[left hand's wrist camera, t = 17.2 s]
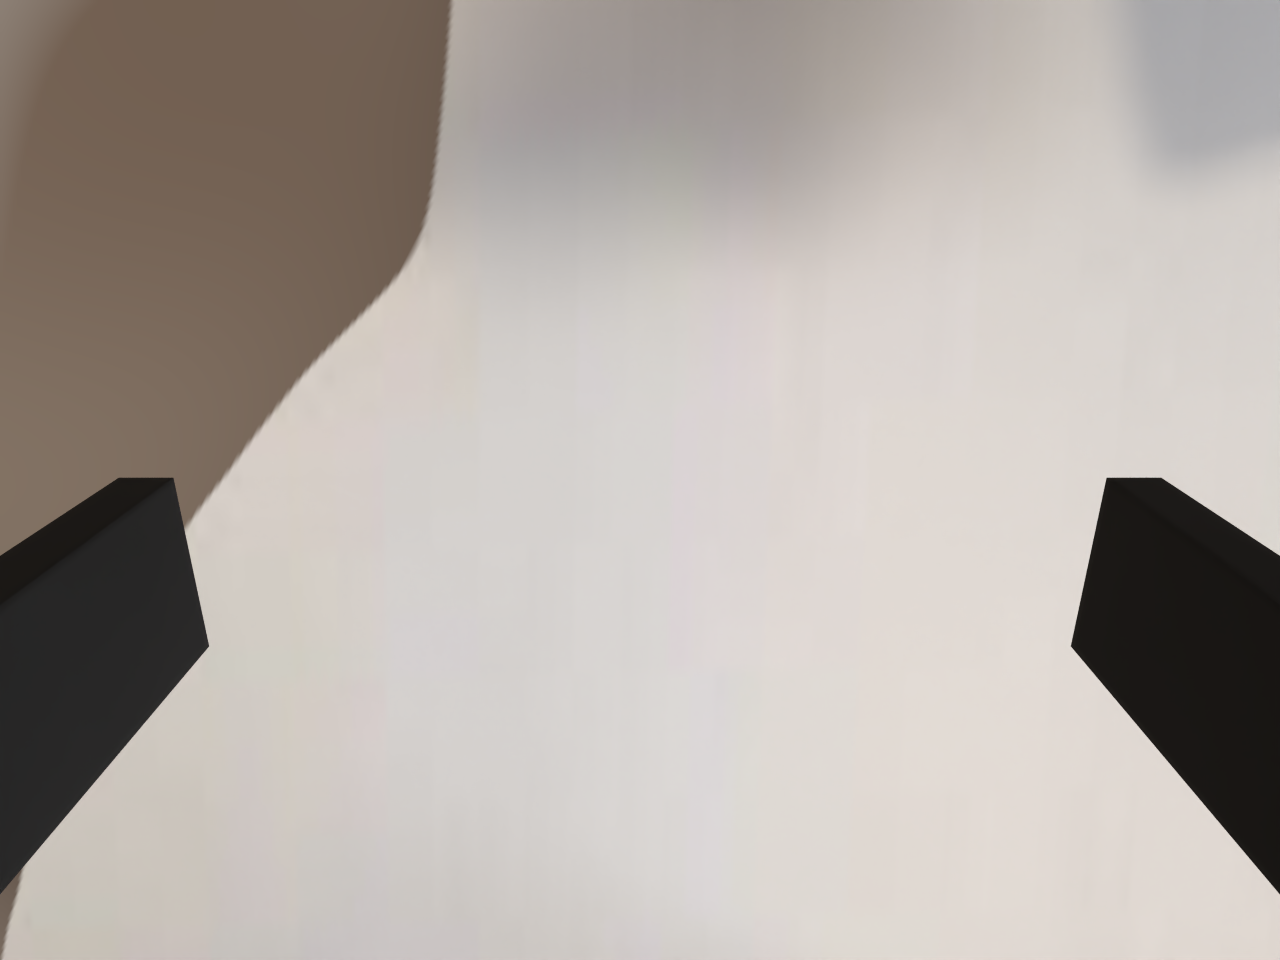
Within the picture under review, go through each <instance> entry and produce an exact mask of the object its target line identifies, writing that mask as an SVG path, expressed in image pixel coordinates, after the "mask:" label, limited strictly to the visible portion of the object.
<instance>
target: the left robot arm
mask: <svg viewBox="0 0 1280 960" xmlns="http://www.w3.org/2000/svg"><path fill="white" fill-rule="evenodd" d="M208 647H209V644H208V639H207V634H206V629H205V625H204V620H203V615H202V611H201V606H200V601H199V597H198V592H197V587H196V582H195V578H194V573H193V568H192V564H191V559H190V554H189V549H188V545H187V540H186V535H185V531H184V526H183V521H182V516H181V512H180V507H179V502H178V498H177V493H176V488H175V483H174V479H173V478H118V479H116V480H115V481H113V482H112V483H110V484H109V485H107V486H106V487H104V488H103V489H101V490H100V491H98V492H97V493H95V494H93V495H92V496H90V497H89V498H87V499H86V500H84V501H83V502H81V503H80V504H78V505H77V506H75V507H74V508H72V509H71V510H69V511H68V512H66V513H65V514H63V515H62V516H60V517H59V518H57V519H56V520H54V521H53V522H51V523H49V524H48V525H46V526H45V527H43V528H42V529H40V530H39V531H37V532H36V533H34V534H33V535H31V536H30V537H28V538H27V539H25V540H24V541H22V542H21V543H19V544H17V545H16V546H14V547H13V548H11V549H10V550H8V551H7V552H5V553H4V554H2V555H1V556H0V894H1V893H2V891H3V890H4V889H5V888H6V887H7V885H8V884H9V883H10V882H11V881H12V880H13V878H14V877H15V876H16V875H17V874H18V872H19V871H20V870H21V869H22V868H23V866H24V865H25V864H26V863H27V862H28V861H29V859H30V858H31V857H32V856H33V855H34V853H35V852H36V851H37V850H38V849H39V848H40V846H41V845H42V844H43V843H44V842H45V840H46V839H47V838H48V837H49V836H50V834H51V833H52V832H53V831H54V830H55V829H56V827H57V826H58V825H59V824H60V823H61V821H62V820H63V819H64V818H65V817H66V815H67V814H68V813H69V812H70V811H71V810H72V808H73V807H74V806H75V805H76V804H77V802H78V801H79V800H80V799H81V798H82V796H83V795H84V794H85V793H86V792H87V791H88V789H89V788H90V787H91V786H92V785H93V783H94V782H95V781H96V780H97V779H98V777H99V776H100V775H101V774H102V773H103V772H104V770H105V769H106V768H107V767H108V766H109V764H110V763H111V762H112V761H113V760H114V759H115V757H116V756H117V755H118V754H119V753H120V751H121V750H122V749H123V748H124V747H125V745H126V744H127V743H128V742H129V741H130V740H131V738H132V737H133V736H134V735H135V734H136V732H137V731H138V730H139V729H140V728H141V726H142V725H143V724H144V723H145V722H146V721H147V719H148V718H149V717H150V716H151V715H152V713H153V712H154V711H155V710H156V709H157V707H158V706H159V705H160V704H161V703H162V702H163V700H164V699H165V698H166V697H167V696H168V694H169V693H170V692H171V691H172V690H173V688H174V687H175V686H176V685H177V684H178V683H179V681H180V680H181V679H182V678H183V677H184V675H185V674H186V673H187V672H188V671H189V669H190V668H191V667H192V666H193V665H194V664H195V662H196V661H197V660H198V659H199V658H200V656H201V655H202V654H203V653H204V652H205V651H206V649H207V648H208ZM1071 647H1072V648H1073V649H1074V651H1075V652H1076V653H1077V654H1078V655H1079V656H1080V658H1081V659H1082V660H1083V661H1084V662H1085V664H1086V665H1087V666H1088V667H1089V668H1090V669H1091V671H1092V672H1093V673H1094V674H1095V675H1096V677H1097V678H1098V679H1099V680H1100V681H1101V683H1102V684H1103V685H1104V686H1105V687H1106V688H1107V690H1108V691H1109V692H1110V693H1111V694H1112V696H1113V697H1114V698H1115V699H1116V700H1117V702H1118V703H1119V704H1120V705H1121V706H1122V707H1123V709H1124V710H1125V711H1126V712H1127V713H1128V715H1129V716H1130V717H1131V718H1132V719H1133V721H1134V722H1135V723H1136V724H1137V725H1138V726H1139V728H1140V729H1141V730H1142V731H1143V732H1144V734H1145V735H1146V736H1147V737H1148V738H1149V740H1150V741H1151V742H1152V743H1153V744H1154V745H1155V747H1156V748H1157V749H1158V750H1159V751H1160V753H1161V754H1162V755H1163V756H1164V757H1165V759H1166V760H1167V761H1168V762H1169V763H1170V764H1171V766H1172V767H1173V768H1174V769H1175V770H1176V772H1177V773H1178V774H1179V775H1180V776H1181V777H1182V779H1183V780H1184V781H1185V782H1186V783H1187V785H1188V786H1189V787H1190V788H1191V789H1192V791H1193V792H1194V793H1195V794H1196V795H1197V796H1198V798H1199V799H1200V800H1201V801H1202V802H1203V804H1204V805H1205V806H1206V807H1207V808H1208V810H1209V811H1210V812H1211V813H1212V814H1213V815H1214V817H1215V818H1216V819H1217V820H1218V821H1219V823H1220V824H1221V825H1222V826H1223V827H1224V829H1225V830H1226V831H1227V832H1228V833H1229V834H1230V836H1231V837H1232V838H1233V839H1234V840H1235V842H1236V843H1237V844H1238V845H1239V846H1240V848H1241V849H1242V850H1243V851H1244V852H1245V853H1246V855H1247V856H1248V857H1249V858H1250V859H1251V861H1252V862H1253V863H1254V864H1255V865H1256V866H1257V868H1258V869H1259V870H1260V871H1261V872H1262V874H1263V875H1264V876H1265V877H1266V878H1267V880H1268V881H1269V882H1270V883H1271V884H1272V885H1273V887H1274V888H1275V889H1276V890H1277V891H1278V893H1279V894H1280V556H1279V555H1278V554H1276V553H1275V552H1273V551H1272V550H1270V549H1269V548H1267V547H1266V546H1264V545H1263V544H1261V543H1259V542H1258V541H1256V540H1255V539H1253V538H1252V537H1250V536H1249V535H1247V534H1246V533H1244V532H1243V531H1241V530H1240V529H1238V528H1237V527H1235V526H1234V525H1232V524H1231V523H1229V522H1228V521H1226V520H1225V519H1223V518H1221V517H1220V516H1218V515H1217V514H1215V513H1214V512H1212V511H1211V510H1209V509H1208V508H1206V507H1205V506H1203V505H1202V504H1200V503H1199V502H1197V501H1196V500H1194V499H1193V498H1191V497H1190V496H1188V495H1187V494H1185V493H1183V492H1182V491H1180V490H1179V489H1177V488H1176V487H1174V486H1173V485H1171V484H1170V483H1168V482H1167V481H1165V480H1164V479H1162V478H1107V479H1106V483H1105V488H1104V493H1103V498H1102V502H1101V507H1100V512H1099V516H1098V521H1097V526H1096V531H1095V535H1094V540H1093V545H1092V549H1091V554H1090V559H1089V564H1088V568H1087V573H1086V578H1085V582H1084V587H1083V592H1082V597H1081V601H1080V606H1079V611H1078V615H1077V620H1076V625H1075V629H1074V634H1073V639H1072V644H1071Z"/></svg>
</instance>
